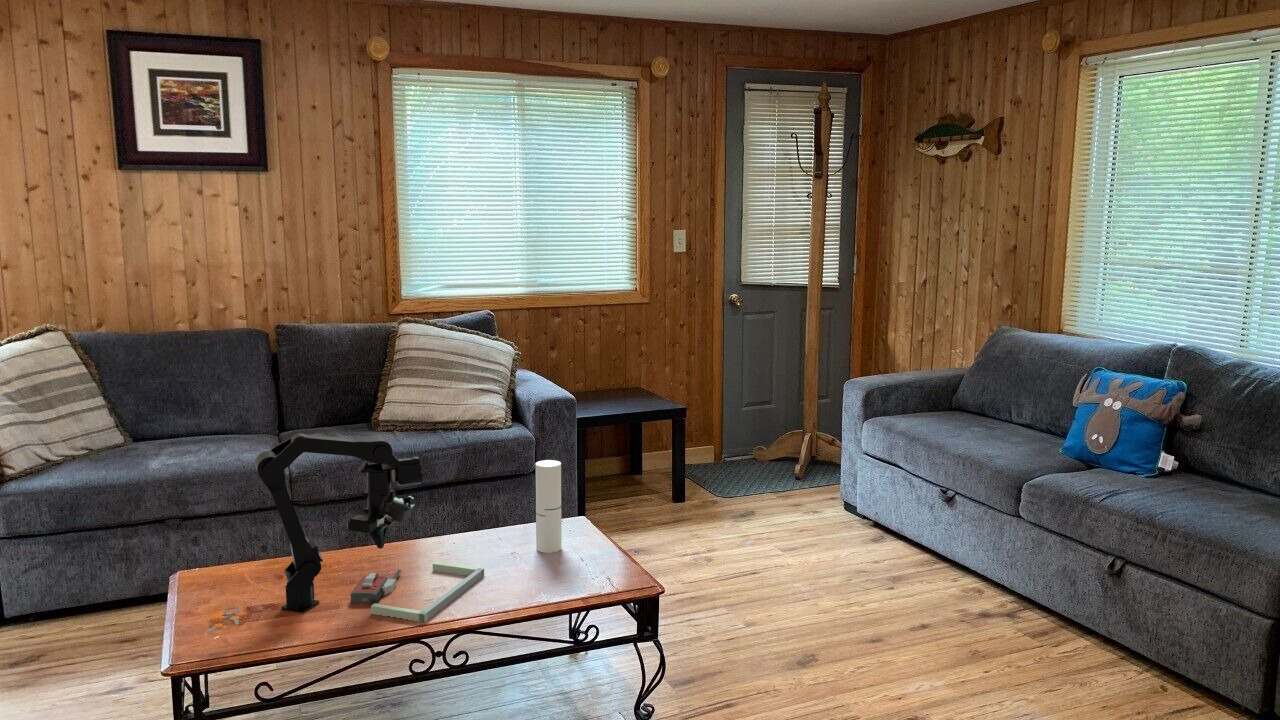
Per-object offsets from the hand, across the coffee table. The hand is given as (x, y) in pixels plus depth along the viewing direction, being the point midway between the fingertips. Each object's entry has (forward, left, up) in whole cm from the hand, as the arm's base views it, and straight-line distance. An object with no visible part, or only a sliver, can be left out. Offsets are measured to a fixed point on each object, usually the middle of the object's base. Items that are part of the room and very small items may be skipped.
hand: (380, 548), depth 239 cm
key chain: (-25, +26, -12) cm, 38 cm away
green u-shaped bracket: (+3, -12, -12) cm, 17 cm away
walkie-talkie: (+2, +2, -12) cm, 13 cm away
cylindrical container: (+42, -27, -12) cm, 52 cm away
